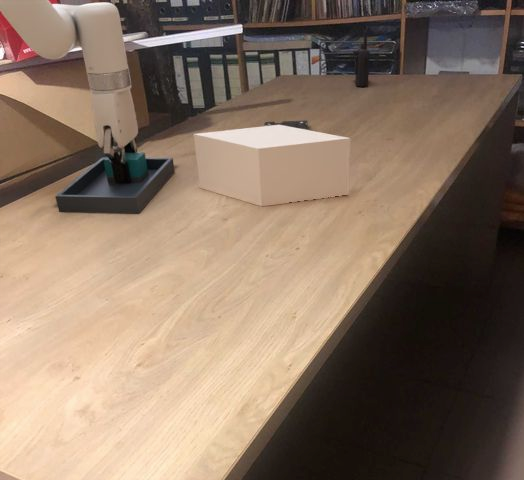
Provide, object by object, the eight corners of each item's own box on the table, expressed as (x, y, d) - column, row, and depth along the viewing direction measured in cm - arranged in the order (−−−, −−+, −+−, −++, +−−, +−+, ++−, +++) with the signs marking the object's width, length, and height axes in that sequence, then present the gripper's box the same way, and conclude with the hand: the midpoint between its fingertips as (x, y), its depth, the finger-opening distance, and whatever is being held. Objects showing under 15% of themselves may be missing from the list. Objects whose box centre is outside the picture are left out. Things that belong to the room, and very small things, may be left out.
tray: (139, 213, 107) (136, 197, 105) (59, 211, 110) (54, 196, 108) (174, 172, 124) (172, 157, 122) (104, 171, 127) (101, 157, 125)
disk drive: (264, 133, 143) (262, 152, 131) (263, 121, 142) (261, 139, 130) (307, 131, 143) (309, 150, 131) (307, 119, 141) (309, 137, 129)
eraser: (107, 182, 119) (103, 159, 116) (116, 174, 122) (111, 152, 120) (141, 182, 118) (137, 159, 115) (148, 174, 121) (144, 152, 118)
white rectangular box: (342, 210, 103) (343, 151, 97) (186, 202, 110) (178, 146, 104) (354, 181, 114) (356, 126, 108) (212, 175, 121) (206, 123, 115)
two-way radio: (369, 87, 176) (372, 30, 167) (354, 88, 176) (356, 31, 167) (364, 83, 181) (366, 27, 172) (350, 84, 180) (351, 29, 172)
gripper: (108, 71, 117) (125, 164, 127) (70, 92, 103) (93, 193, 114) (144, 70, 115) (159, 164, 126) (111, 91, 102) (130, 194, 113)
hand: (127, 177), depth 120 cm, fingers closed on eraser, 4 cm apart
